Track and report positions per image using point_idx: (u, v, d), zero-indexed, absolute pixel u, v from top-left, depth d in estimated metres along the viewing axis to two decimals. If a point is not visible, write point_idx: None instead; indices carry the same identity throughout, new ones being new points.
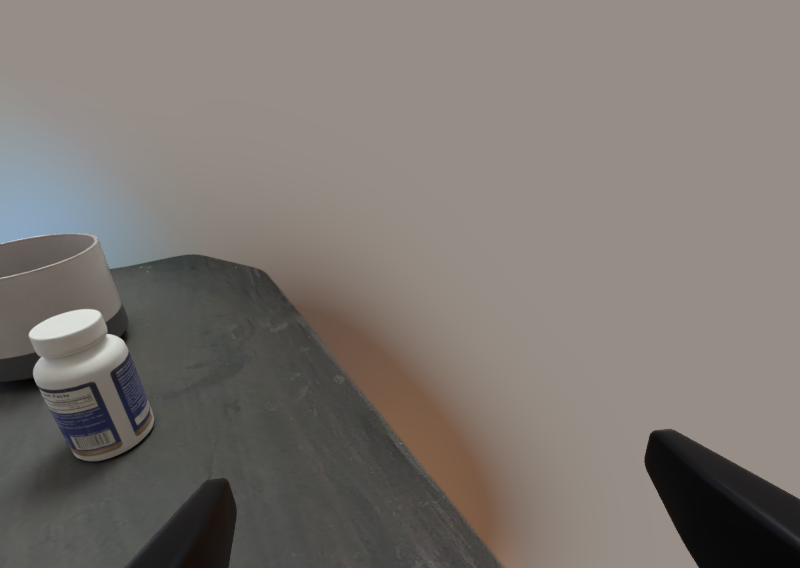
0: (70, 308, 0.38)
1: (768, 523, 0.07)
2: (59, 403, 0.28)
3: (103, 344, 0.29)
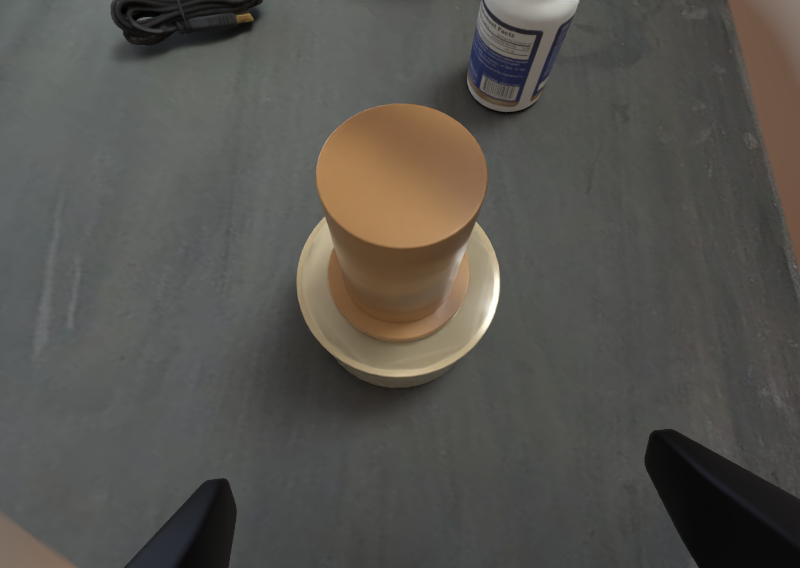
0: None
1: (768, 523, 0.07)
2: (498, 39, 0.25)
3: None
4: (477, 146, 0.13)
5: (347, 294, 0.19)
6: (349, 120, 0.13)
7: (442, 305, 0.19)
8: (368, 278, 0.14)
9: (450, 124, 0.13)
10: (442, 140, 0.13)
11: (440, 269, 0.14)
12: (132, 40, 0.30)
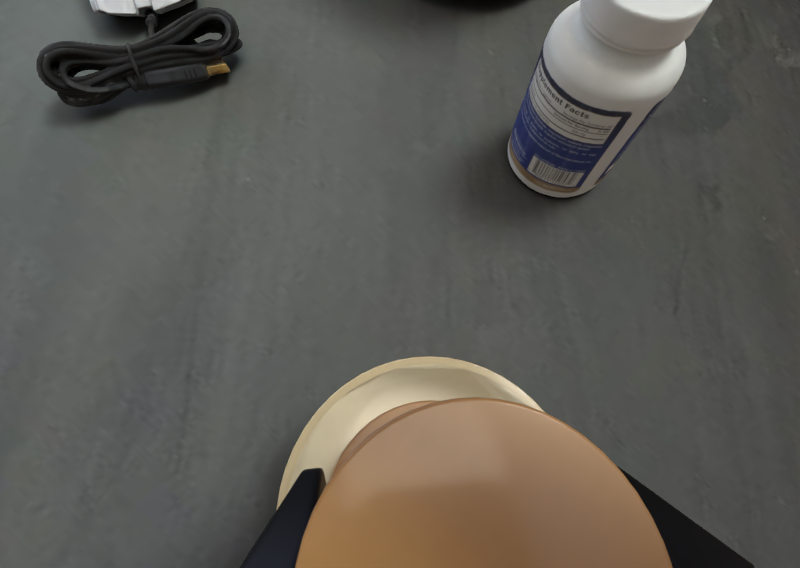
0: None
1: None
2: (564, 119, 0.18)
3: None
4: (648, 519, 0.06)
5: None
6: (365, 448, 0.06)
7: None
8: None
9: (583, 457, 0.06)
10: (570, 504, 0.06)
11: None
12: (69, 101, 0.23)
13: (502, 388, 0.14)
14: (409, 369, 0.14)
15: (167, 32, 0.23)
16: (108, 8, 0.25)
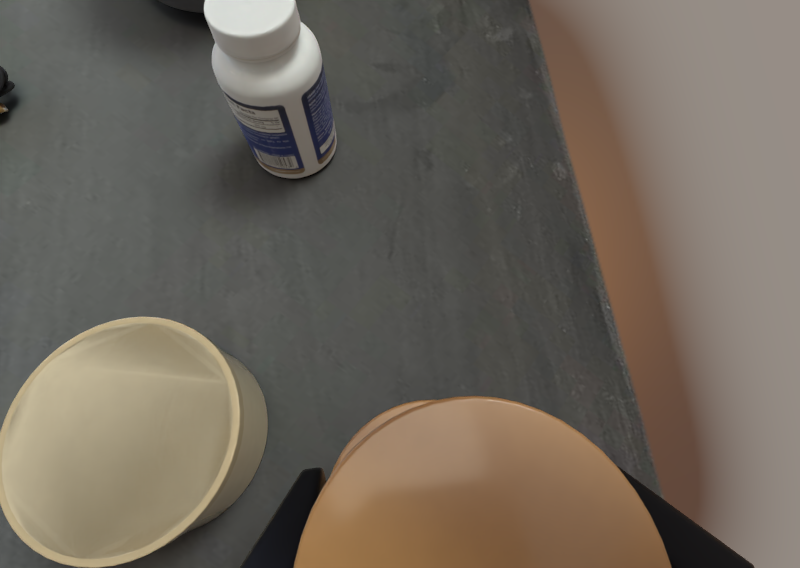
0: None
1: None
2: (244, 116, 0.22)
3: (295, 49, 0.21)
4: (646, 517, 0.06)
5: None
6: (364, 447, 0.06)
7: None
8: None
9: (582, 456, 0.06)
10: (569, 502, 0.06)
11: None
12: None
13: (180, 332, 0.19)
14: (107, 330, 0.19)
15: None
16: None
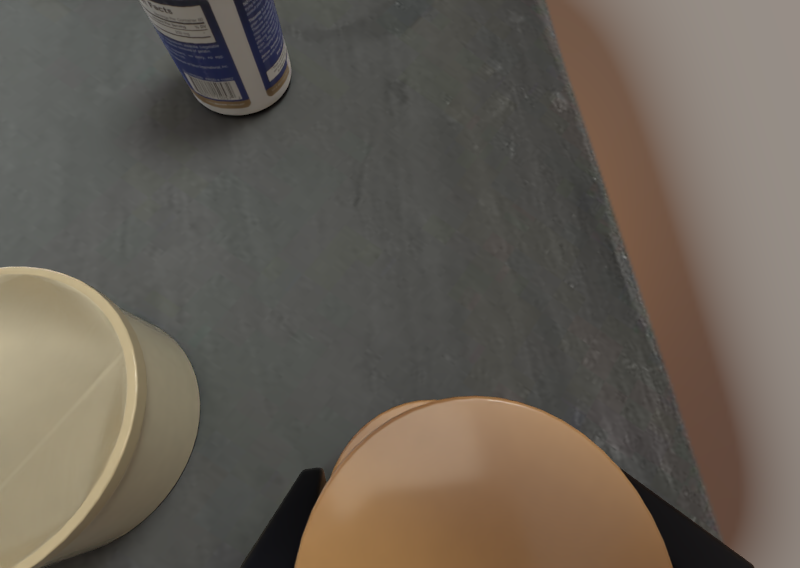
0: None
1: None
2: (160, 20, 0.18)
3: None
4: (647, 517, 0.06)
5: None
6: (365, 447, 0.06)
7: None
8: None
9: (583, 456, 0.06)
10: (570, 503, 0.06)
11: None
12: None
13: (63, 285, 0.14)
14: None
15: None
16: None
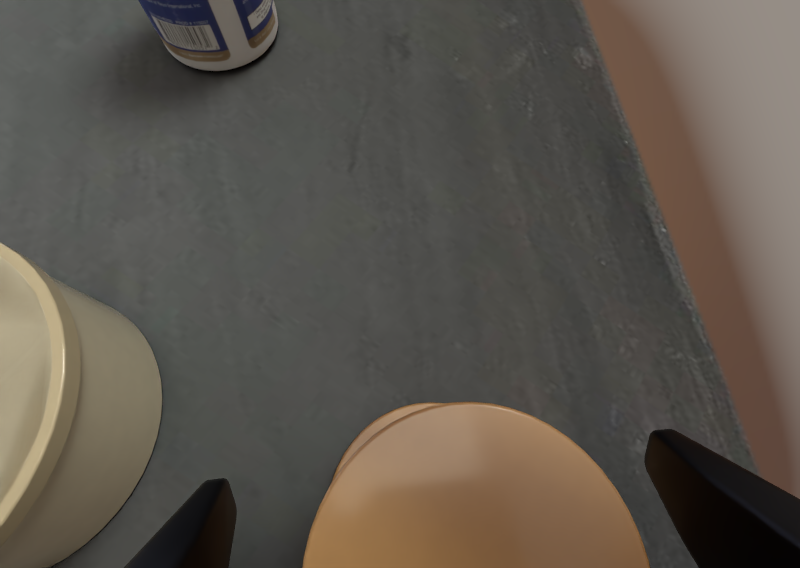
0: None
1: (768, 523, 0.07)
2: None
3: None
4: (626, 514, 0.06)
5: None
6: (368, 448, 0.07)
7: None
8: None
9: (567, 457, 0.07)
10: (555, 500, 0.06)
11: None
12: None
13: None
14: None
15: None
16: None
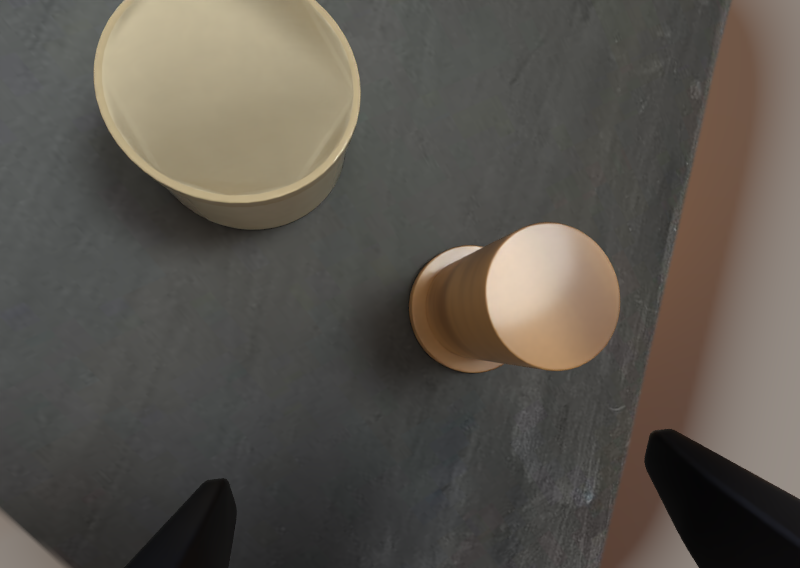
0: None
1: (768, 523, 0.07)
2: None
3: None
4: (618, 301, 0.15)
5: (424, 309, 0.21)
6: (534, 226, 0.15)
7: None
8: (470, 341, 0.17)
9: (608, 271, 0.15)
10: (595, 283, 0.15)
11: None
12: None
13: (323, 19, 0.17)
14: None
15: None
16: None
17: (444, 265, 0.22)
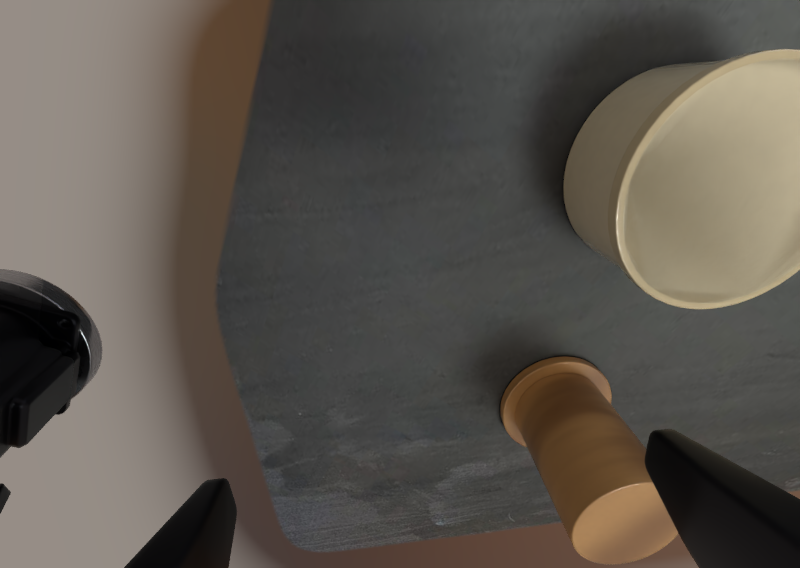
0: None
1: (768, 523, 0.07)
2: None
3: None
4: (635, 559, 0.19)
5: (544, 376, 0.24)
6: None
7: None
8: (555, 457, 0.20)
9: (657, 547, 0.19)
10: (646, 544, 0.19)
11: None
12: None
13: None
14: None
15: None
16: None
17: (586, 375, 0.24)
